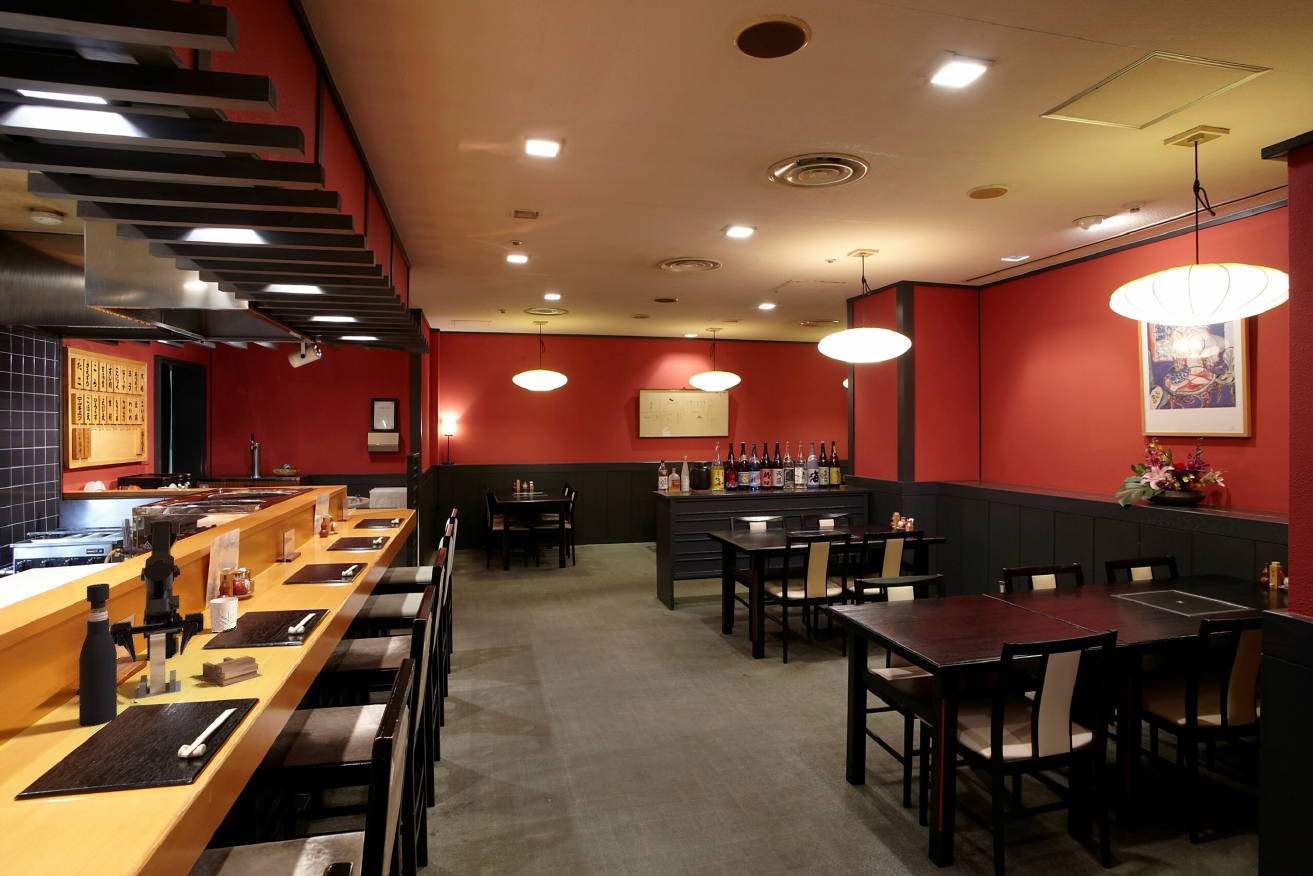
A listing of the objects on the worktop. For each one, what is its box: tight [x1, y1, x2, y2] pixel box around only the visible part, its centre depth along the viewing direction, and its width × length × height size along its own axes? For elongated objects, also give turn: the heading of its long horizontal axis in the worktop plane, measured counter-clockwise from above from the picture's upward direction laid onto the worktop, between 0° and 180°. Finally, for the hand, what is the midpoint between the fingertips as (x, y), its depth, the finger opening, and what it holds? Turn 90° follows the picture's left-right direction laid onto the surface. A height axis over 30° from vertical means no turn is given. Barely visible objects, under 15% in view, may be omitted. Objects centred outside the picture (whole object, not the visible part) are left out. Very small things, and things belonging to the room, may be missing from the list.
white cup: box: [208, 596, 239, 632], centre depth 218 cm, size 8×8×10 cm
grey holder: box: [133, 669, 182, 704], centre depth 164 cm, size 9×9×4 cm
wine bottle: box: [78, 583, 118, 727], centre depth 148 cm, size 6×6×30 cm
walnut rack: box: [194, 656, 263, 688], centre depth 173 cm, size 14×10×4 cm
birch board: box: [149, 633, 166, 694], centre depth 164 cm, size 5×3×13 cm, turn 37°
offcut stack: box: [213, 655, 259, 685], centre depth 171 cm, size 5×8×4 cm, turn 149°
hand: (158, 657), depth 163 cm, fingers open, 9 cm apart
